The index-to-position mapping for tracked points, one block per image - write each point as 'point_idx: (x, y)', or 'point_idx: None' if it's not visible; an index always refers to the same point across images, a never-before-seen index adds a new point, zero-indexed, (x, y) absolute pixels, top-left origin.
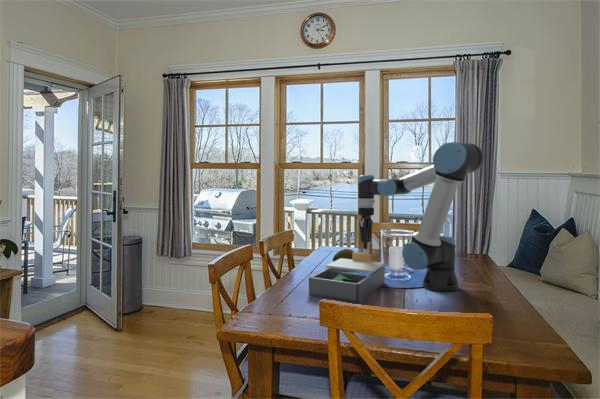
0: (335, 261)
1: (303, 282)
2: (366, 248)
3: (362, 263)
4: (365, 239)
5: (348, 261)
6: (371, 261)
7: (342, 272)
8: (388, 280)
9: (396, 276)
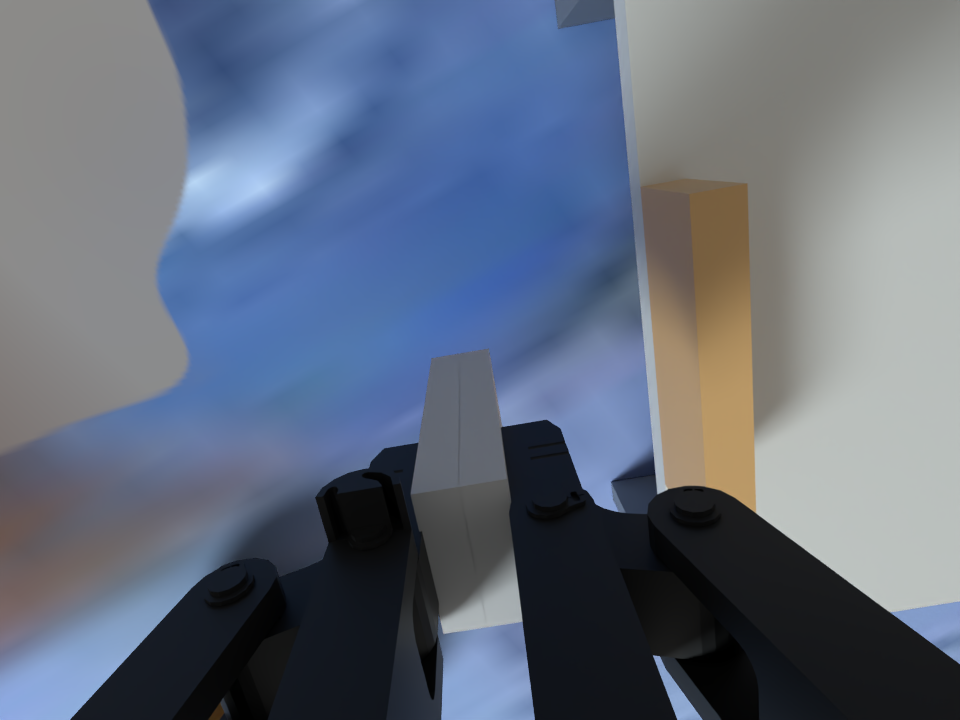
0: (904, 595)
1: (942, 626)
2: (534, 426)
3: (862, 227)
4: (774, 533)
5: (825, 469)
6: (641, 180)
7: (633, 508)
8: (431, 10)
9: (191, 17)
